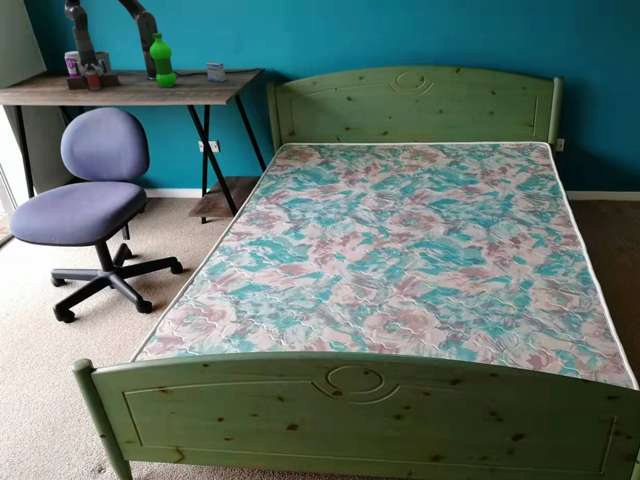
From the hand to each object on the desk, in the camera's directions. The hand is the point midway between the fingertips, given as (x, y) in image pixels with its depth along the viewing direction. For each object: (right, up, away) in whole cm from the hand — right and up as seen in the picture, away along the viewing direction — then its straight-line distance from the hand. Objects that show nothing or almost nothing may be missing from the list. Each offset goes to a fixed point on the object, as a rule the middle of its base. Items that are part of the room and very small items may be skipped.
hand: (94, 82), depth 302 cm
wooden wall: (-3, 0, +5) cm, 6 cm away
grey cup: (-6, +12, +25) cm, 28 cm away
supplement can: (-14, +4, +13) cm, 19 cm away
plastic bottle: (+36, -1, +3) cm, 36 cm away
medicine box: (+59, +4, +10) cm, 60 cm away
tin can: (0, -3, +1) cm, 3 cm away
